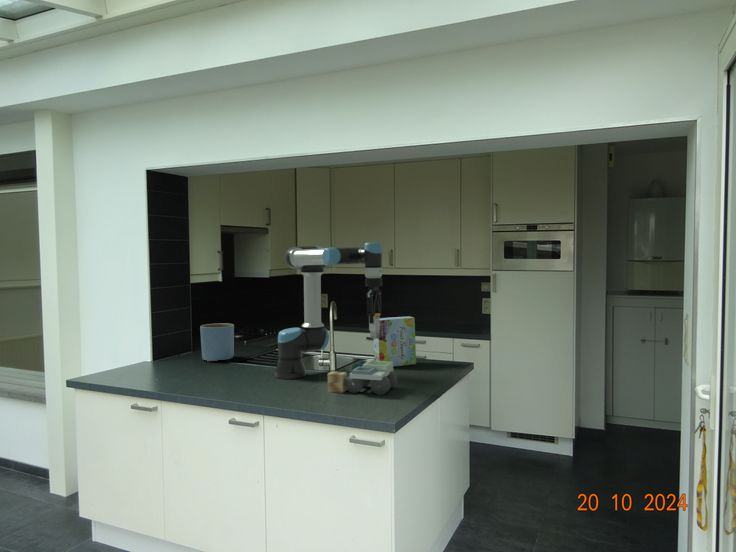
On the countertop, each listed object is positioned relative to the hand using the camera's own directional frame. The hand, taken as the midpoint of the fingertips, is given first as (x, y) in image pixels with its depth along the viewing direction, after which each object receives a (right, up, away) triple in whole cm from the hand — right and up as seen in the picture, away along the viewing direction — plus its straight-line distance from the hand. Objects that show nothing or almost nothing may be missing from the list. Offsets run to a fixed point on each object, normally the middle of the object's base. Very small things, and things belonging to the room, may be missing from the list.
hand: (374, 329), depth 242 cm
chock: (-16, -27, 0) cm, 32 cm away
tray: (+2, -18, +2) cm, 18 cm away
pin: (0, -4, 0) cm, 4 cm away
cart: (-1, -27, 0) cm, 27 cm away
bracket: (-11, -26, +26) cm, 39 cm away
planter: (-91, -25, +78) cm, 122 cm away
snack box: (+12, -25, +52) cm, 59 cm away
